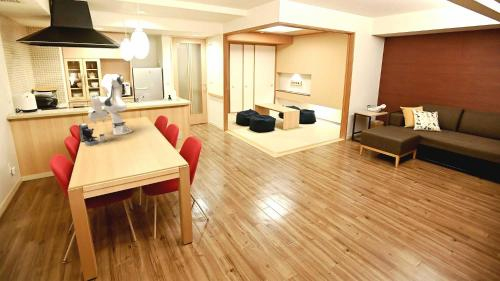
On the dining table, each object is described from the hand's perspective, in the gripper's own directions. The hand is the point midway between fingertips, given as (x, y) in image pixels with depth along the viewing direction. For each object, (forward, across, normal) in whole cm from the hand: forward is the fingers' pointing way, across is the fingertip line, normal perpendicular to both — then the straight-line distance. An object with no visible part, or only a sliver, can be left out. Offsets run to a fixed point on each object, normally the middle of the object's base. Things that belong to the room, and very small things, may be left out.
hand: (99, 122), depth 293 cm
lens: (+21, 0, 0) cm, 21 cm away
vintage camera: (+22, +6, -15) cm, 27 cm away
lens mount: (+21, +12, -1) cm, 24 cm away
